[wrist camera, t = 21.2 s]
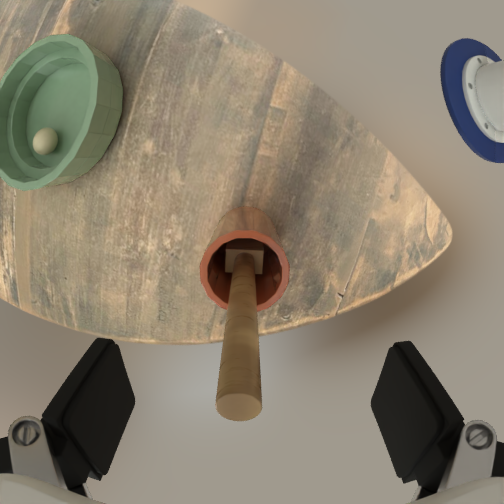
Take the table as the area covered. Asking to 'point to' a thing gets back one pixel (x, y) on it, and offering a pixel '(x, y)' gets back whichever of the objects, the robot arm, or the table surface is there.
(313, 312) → the table surface
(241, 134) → the table surface
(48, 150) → the bead
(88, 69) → the bowl
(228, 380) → the wooden masher
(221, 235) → the utensil cup
